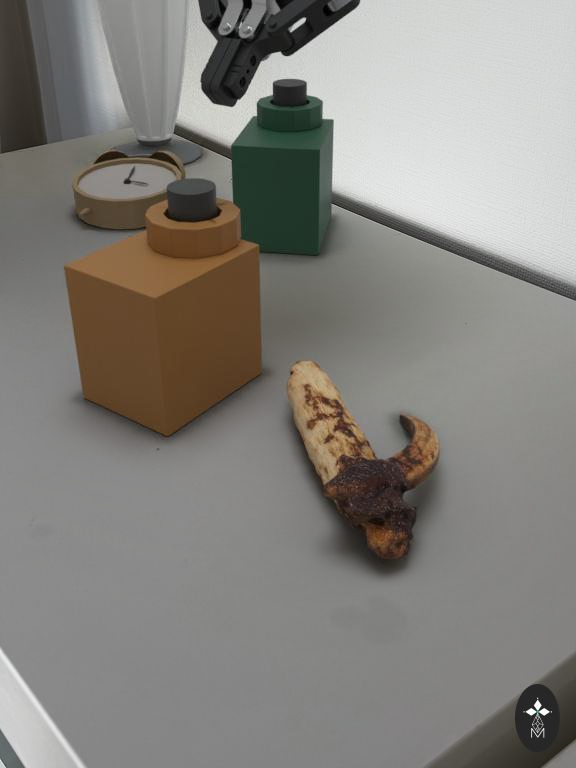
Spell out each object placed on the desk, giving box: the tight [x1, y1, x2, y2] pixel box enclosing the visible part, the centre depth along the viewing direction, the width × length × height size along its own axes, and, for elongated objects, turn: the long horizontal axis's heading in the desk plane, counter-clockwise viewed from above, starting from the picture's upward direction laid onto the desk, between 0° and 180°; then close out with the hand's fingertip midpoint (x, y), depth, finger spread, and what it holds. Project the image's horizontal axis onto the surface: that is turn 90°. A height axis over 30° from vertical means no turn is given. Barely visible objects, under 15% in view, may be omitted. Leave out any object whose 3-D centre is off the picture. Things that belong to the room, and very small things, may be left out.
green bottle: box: [230, 94, 335, 256], centre depth 83 cm, size 11×8×12 cm
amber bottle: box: [63, 197, 263, 437], centre depth 59 cm, size 11×8×12 cm
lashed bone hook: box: [286, 360, 441, 560], centre depth 52 cm, size 9×5×18 cm
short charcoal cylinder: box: [272, 78, 308, 107], centre depth 82 cm, size 3×3×2 cm
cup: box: [96, 0, 202, 166], centre depth 102 cm, size 12×12×22 cm
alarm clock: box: [71, 149, 187, 230], centre depth 92 cm, size 11×5×15 cm
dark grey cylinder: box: [167, 177, 217, 223], centre depth 57 cm, size 3×3×2 cm
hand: (216, 98), depth 56 cm, fingers closed
